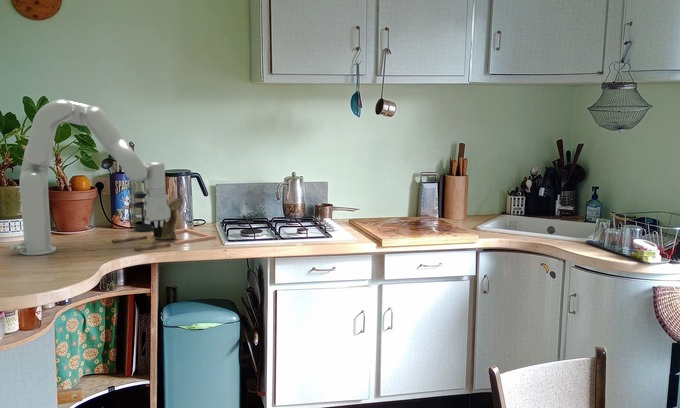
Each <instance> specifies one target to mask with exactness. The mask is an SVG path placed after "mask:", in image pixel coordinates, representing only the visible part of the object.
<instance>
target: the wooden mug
mask: <svg viewBox="0 0 680 408" xmlns="http://www.w3.org/2000/svg"><path fill="white" fill-rule="evenodd" d="M169 203H170V205H169V208H170V210H171V217H170V220H169V221H167V222H165V223H164V225H163V227H162V234H161V237H155V236H154V235H153V237H152V238H154V239H157V240H175V239H176V238H177V234H175V230H176V228H175V225H176V223H177V211H178V210H179V209H181V207H182V206H183V203H184V199H183V198H182V197H177V198H175V199H173V200H172V201H171V202H169Z"/></svg>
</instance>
